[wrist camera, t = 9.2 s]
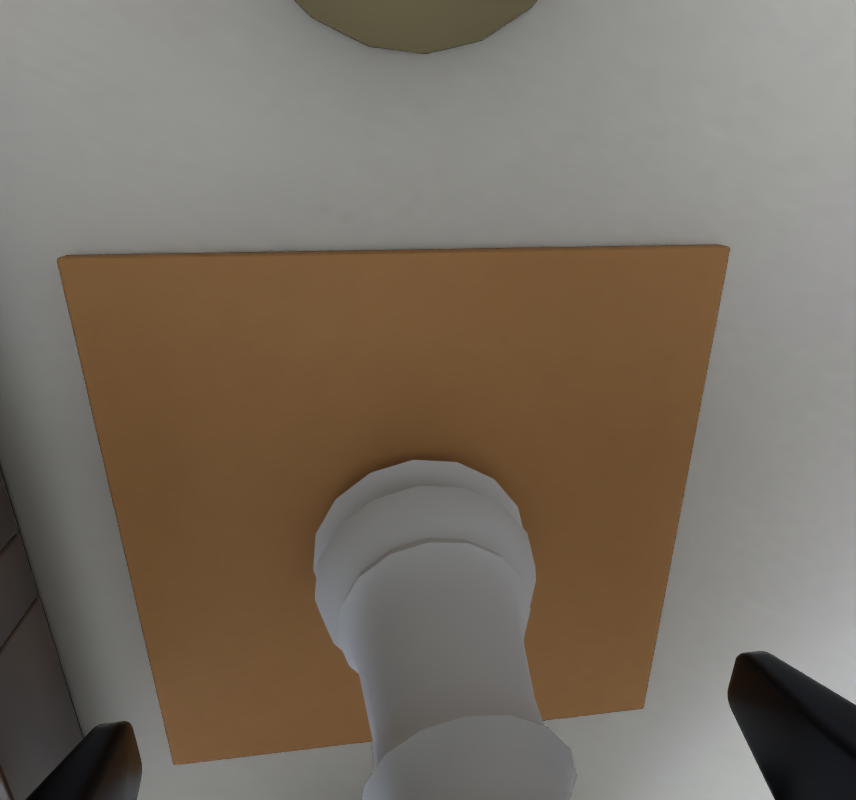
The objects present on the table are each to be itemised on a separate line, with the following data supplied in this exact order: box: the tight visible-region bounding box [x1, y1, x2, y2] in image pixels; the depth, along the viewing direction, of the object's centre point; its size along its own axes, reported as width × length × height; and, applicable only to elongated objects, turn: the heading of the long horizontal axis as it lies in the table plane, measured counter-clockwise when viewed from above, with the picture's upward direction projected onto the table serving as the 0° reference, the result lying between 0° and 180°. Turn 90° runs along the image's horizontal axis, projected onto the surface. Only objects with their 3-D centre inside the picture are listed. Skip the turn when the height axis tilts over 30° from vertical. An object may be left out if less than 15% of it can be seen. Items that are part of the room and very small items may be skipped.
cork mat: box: [57, 245, 730, 765], centre depth 13 cm, size 12×12×1 cm
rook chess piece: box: [313, 460, 577, 800], centre depth 9 cm, size 4×4×8 cm
